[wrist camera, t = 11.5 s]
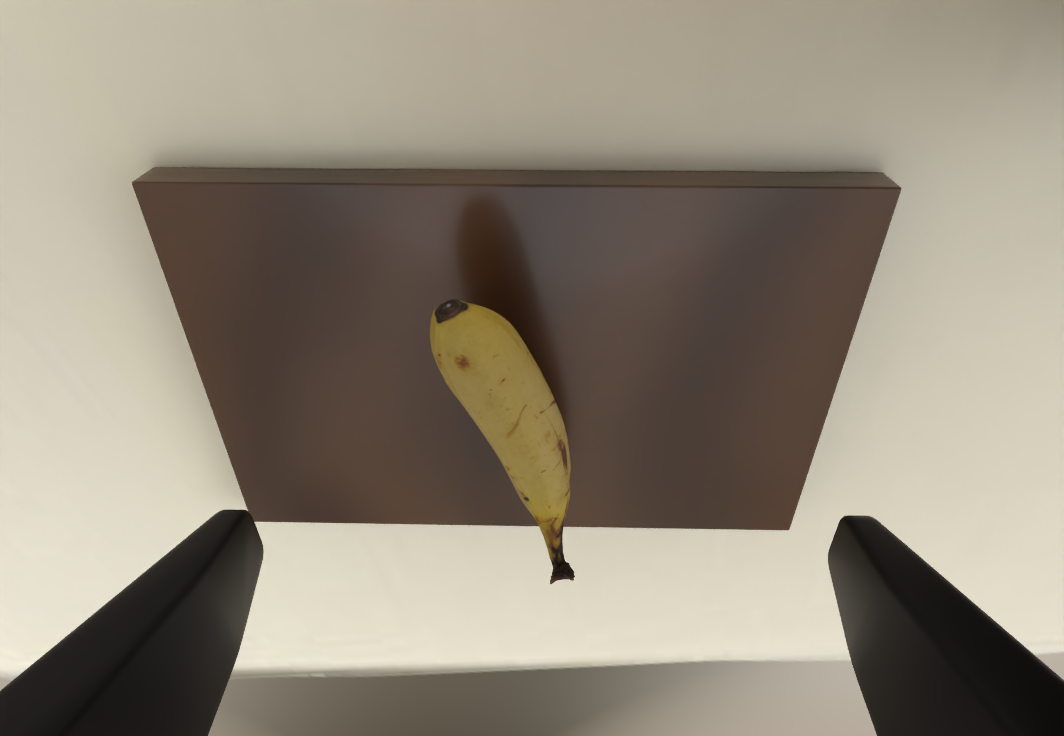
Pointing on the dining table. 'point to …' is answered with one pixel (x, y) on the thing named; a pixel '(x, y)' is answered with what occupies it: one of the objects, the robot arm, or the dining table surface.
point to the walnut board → (520, 332)
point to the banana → (509, 411)
